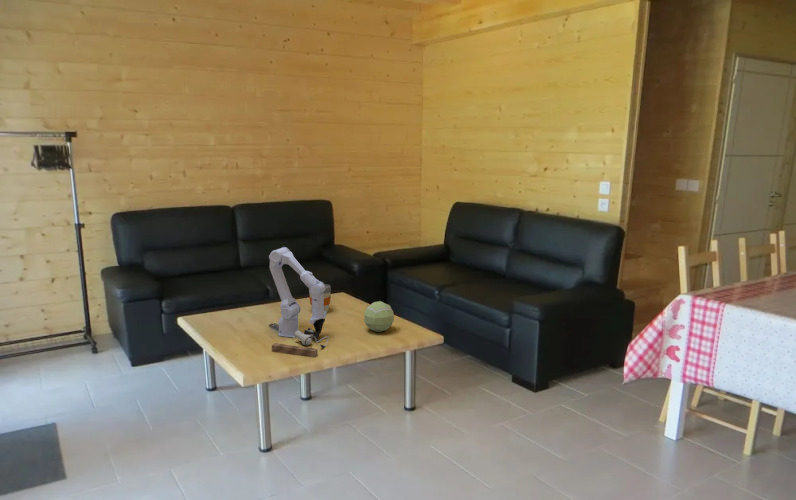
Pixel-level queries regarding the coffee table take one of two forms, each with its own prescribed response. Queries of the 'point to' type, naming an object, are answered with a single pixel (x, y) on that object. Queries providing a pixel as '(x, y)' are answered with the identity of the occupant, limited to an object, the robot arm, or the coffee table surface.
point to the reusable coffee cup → (326, 297)
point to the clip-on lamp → (309, 336)
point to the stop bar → (294, 350)
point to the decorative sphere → (378, 316)
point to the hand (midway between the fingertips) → (318, 333)
